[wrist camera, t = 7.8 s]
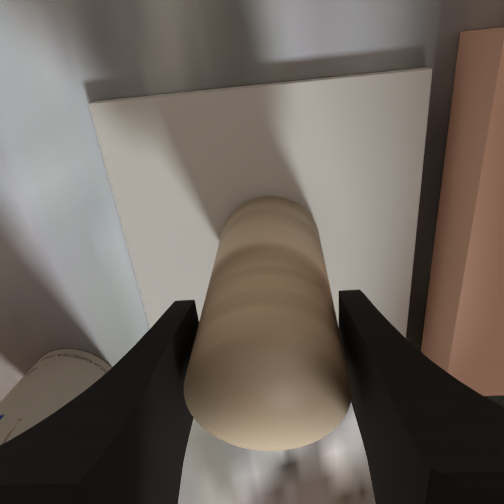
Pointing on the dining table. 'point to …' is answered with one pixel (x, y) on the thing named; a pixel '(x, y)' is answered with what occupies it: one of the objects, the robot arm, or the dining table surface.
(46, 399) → the coffee cup
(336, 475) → the dining table surface
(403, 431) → the robot arm
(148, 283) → the mat
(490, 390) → the square board with hole
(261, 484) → the dining table surface
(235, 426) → the plug
